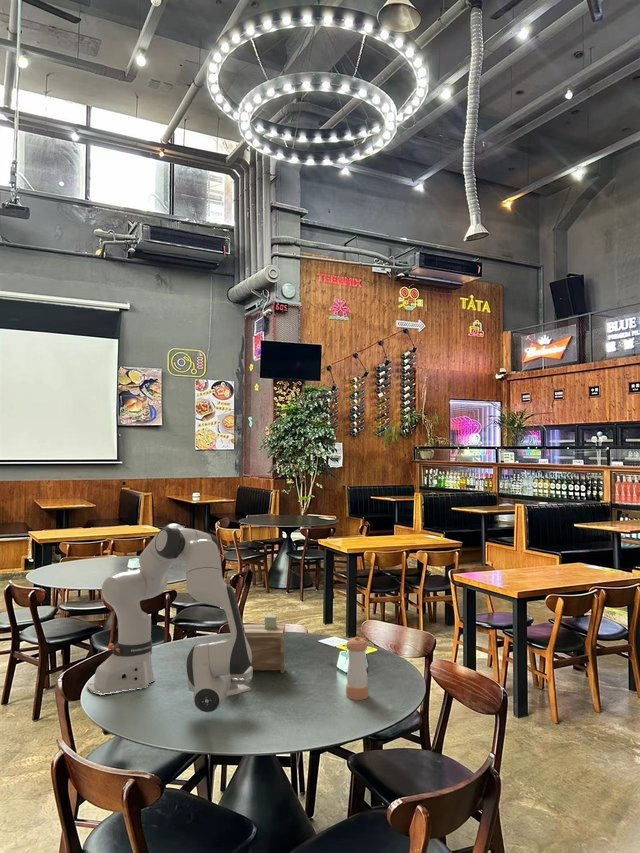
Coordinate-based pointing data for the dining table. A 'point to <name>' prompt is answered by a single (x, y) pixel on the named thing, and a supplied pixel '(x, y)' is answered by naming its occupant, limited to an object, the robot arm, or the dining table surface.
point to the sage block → (270, 622)
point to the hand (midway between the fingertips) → (223, 665)
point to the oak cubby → (266, 646)
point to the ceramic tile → (238, 690)
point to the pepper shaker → (357, 670)
